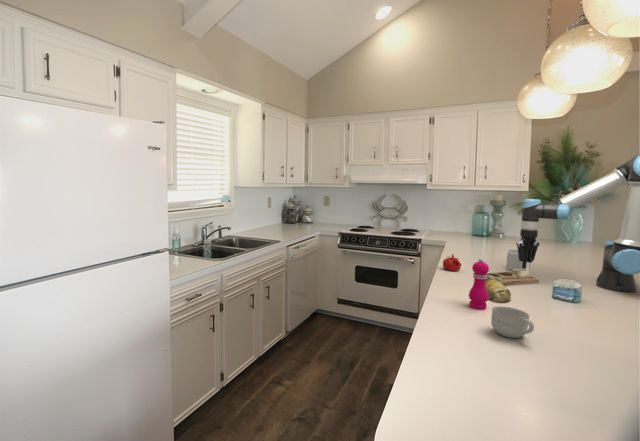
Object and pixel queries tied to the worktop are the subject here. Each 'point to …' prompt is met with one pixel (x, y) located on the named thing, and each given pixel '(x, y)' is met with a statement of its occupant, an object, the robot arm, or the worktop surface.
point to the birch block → (520, 274)
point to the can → (513, 260)
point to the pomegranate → (451, 264)
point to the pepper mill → (479, 286)
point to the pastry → (497, 291)
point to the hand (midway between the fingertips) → (525, 274)
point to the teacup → (511, 321)
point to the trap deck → (510, 279)
